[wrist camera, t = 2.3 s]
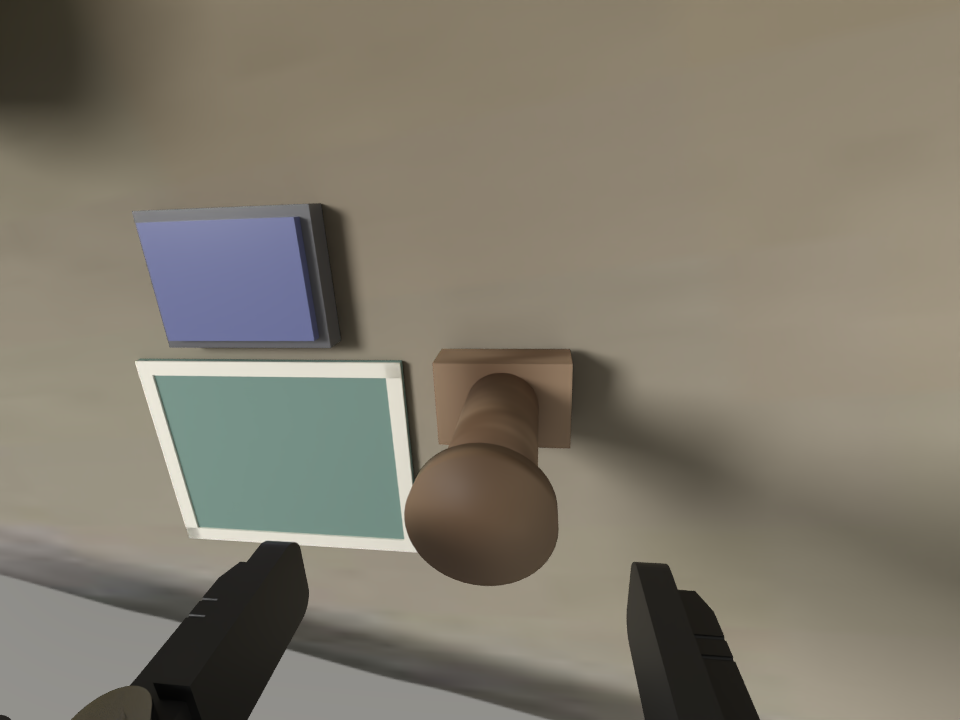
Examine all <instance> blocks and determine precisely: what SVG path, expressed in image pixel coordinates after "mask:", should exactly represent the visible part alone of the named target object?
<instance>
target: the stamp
mask: <svg viewBox="0 0 960 720" xmlns="http://www.w3.org/2000/svg"><path fill="white" fill-rule="evenodd" d="M432 364H433V377H434V389H435V402H436V415H437V428H438V440H439V444H446V445H449V447H448V449H445V450H443V451H441V452H440V453H438V454H436V455H435V456H433V457H432V458H431V459H430V460H428V462H427V463H426V464H425V465H424V466H423V467H422V468H421V470H420V471H419V473H418V475H417V477H416V479H415V481H414V483H413V486H412V488H411V490H410V492H409V495H408V497H407V500H406V504H405V510H404V521H405V527H406V531H407V534H408V537H409V539H410V541H411V543H412V545H413V546H414V548H415V549H416V551H417V552H418V553H419V554H420V556H421V557H422V558H423V559H424V560H425V561H426V562H427V563H428V564H429V565H431V566H432V567H433V568H435V569H436V570H437V571H439V572H441V573H443V574H444V575H446V576H448V577H451V578H453V579H455V580H458V581H461V582H464V583H469V584H473V585H481V586H496V585H504V584H510V583H513V582H516V581H519V580H522V579H524V578H526V577H528V576H530V575H531V574H533V573H535V572H536V571H537V570H538V569H540V568H541V567H542V566H543V565H544V564H545V563H546V561H547V560H548V559H549V557H550V556H551V554H552V552H553V550H554V548H555V546H556V542H557V538H558V509H557V500H556V495H555V492H554V490H553V487H552V485H551V483H550V482H549V480H548V478H547V477H546V475H545V474H544V473H543V471H542V470H541V469H540V468H539V467H538V447H542V448H570V437H571V405H572V372H573V363H572V358H571V352H570V349H442V350H441V351H440V353H439V354H438V356H437V357H436V359H435V360H434V362H433V363H432Z"/></svg>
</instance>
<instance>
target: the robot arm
mask: <svg viewBox="0 0 960 720" xmlns="http://www.w3.org/2000/svg"><path fill="white" fill-rule="evenodd" d="M308 599H309V588H308V583H307V578H306V574H305V569H304V564H303V559H302V554H301V549H300V546H299V544H298V543H296V542H284V541H265V542H263V543H262V544H261V545H260V546H259V547H258V548H257V550H256V551H255V552H254V554H253V555H252V556H251V557H250V559H249V560H248V561H247V562H239V563H238V564H237V565H235V566H234V567H233V568H231V569H230V570H229V571H227V572H226V573H225V574H223V575H222V576H221V577H219V578H218V579H217V581H216V582H215V583H214V584H213V585H212V587H211V588H210V589H209V590H208V592H207V593H206V594H205V595H204V596H203V600H202V601H199V602H198V604H197V605H196V606H195V607H194V609H193V610H192V611H191V612H190V615H189V617H188V618H185V620H184V621H183V622H182V623H181V624H180V626H179V627H178V628H177V629H176V631H175V632H174V633H173V634H172V635H171V637H170V638H169V639H168V640H167V642H166V643H165V644H164V645H163V646H162V648H161V649H160V650H159V651H158V652H157V654H156V655H155V656H154V657H153V659H152V660H151V661H150V662H149V663H148V665H147V666H146V667H145V668H144V670H143V671H142V672H141V673H140V674H139V675H138V677H137V678H136V679H135V680H134V681H133V683H132V684H131V685H130V686H125V687H121V688H118V689H115V690H112V691H110V692H108V693H106V694H104V695H102V696H100V697H98V698H97V699H95V700H94V701H92V702H91V703H89V704H88V705H87V706H86V707H84V708H83V709H82V710H81V711H80V712H78V714H76V715H75V716H74V718H72V719H71V720H248V718H249V716H250V714H251V712H252V710H253V709H254V707H255V705H256V703H257V701H258V699H259V698H260V696H261V694H262V692H263V690H264V688H265V687H266V685H267V683H268V681H269V679H270V677H271V676H272V674H273V672H274V670H275V668H276V666H277V665H278V663H279V661H280V659H281V657H282V655H283V654H284V652H285V650H286V648H287V646H288V644H289V643H290V641H291V639H292V637H293V635H294V633H295V632H296V630H297V628H298V626H299V624H300V622H301V621H302V619H303V617H304V614H305V612H306V609H307V605H308ZM627 633H628V640H629V646H630V651H631V655H632V660H633V665H634V670H635V675H636V679H637V684H638V689H639V694H640V698H641V703H642V708H643V713H644V718H645V720H760V719H759V716H758V714H757V712H756V709H755V707H754V705H753V702H752V700H751V698H750V695H749V693H748V691H747V688H746V686H745V684H744V681H743V679H742V677H741V674H740V672H739V670H738V667H737V665H736V663H735V662H734V661H733V656H732V653H731V651H730V649H729V646H728V644H727V642H726V641H725V640H724V635H723V632H722V630H721V628H720V625H719V623H718V621H717V618H716V616H715V614H714V612H713V611H712V609H711V608H710V607H709V606H708V605H707V604H706V603H705V602H704V600H703V599H702V598H701V597H700V596H699V595H698V594H697V593H696V592H695V591H686V590H678V589H677V586H676V584H675V581H674V578H673V575H672V573H671V570H670V568H669V566H668V565H667V564H661V563H643V562H633V563H632V566H631V573H630V584H629V594H628V604H627ZM0 720H11V719H10V718H9V717H7V716H4V715H0Z"/></svg>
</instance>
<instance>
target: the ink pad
mask: <svg viewBox="0 0 960 720" xmlns="http://www.w3.org/2000/svg"><path fill="white" fill-rule="evenodd" d="M132 214H133V217H134V221H135V224H136V228H137V232H138V235H139V239H140V242H141V246H142V250H143V253H144V257H145V260H146V264H147V267H148V271H149V275H150V278H151V282H152V285H153V289H154V293H155V296H156V300H157V303H158V307H159V311H160V314H161V318H162V321H163V325H164V329H165V332H166V336H167V339H168V343H169V347H190V348H331V347H333V346H334V345H335V344H337V343H338V342H339V341H341V337H340V330H339V323H338V317H337V310H336V303H335V296H334V289H333V282H332V276H331V269H330V262H329V255H328V248H327V241H326V235H325V228H324V221H323V214H322V207H321V203H318V204H293V205H269V206H245V207H221V208H196V209H172V210H148V211H132Z"/></svg>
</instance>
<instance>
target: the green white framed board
mask: <svg viewBox="0 0 960 720" xmlns="http://www.w3.org/2000/svg"><path fill="white" fill-rule="evenodd" d="M135 364H136V367H137V370H138V374H139V377H140V380H141V383H142V387H143V390H144V393H145V396H146V400H147V403H148V406H149V409H150V413H151V416H152V419H153V422H154V426H155V429H156V432H157V435H158V438H159V442H160V445H161V448H162V451H163V455H164V458H165V461H166V464H167V468H168V471H169V474H170V477H171V481H172V484H173V487H174V490H175V494H176V497H177V500H178V503H179V507H180V510H181V513H182V516H183V520H184V523H185V526H186V529H187V533H188V536H189V538H198V539H213V540H229V541H245V542H261V543H263V542H265V541H284V542H296V543H298V544H299V545H308V546H324V547H340V548H355V549H371V550H387V551H403V552H417V551H416V549H415V548H414V546H413V545H412V543H411V541H410V539H409V537H408V534H407V531H406V527H405V521H404V510H405V504H406V500H407V497H408V495H409V492H410V490H411V488H412V486H413V483H414V474H413V464H412V454H411V444H410V434H409V424H408V415H407V405H406V395H405V385H404V375H403V365H402V361H396V360H243V359H139V360H137V361H135Z"/></svg>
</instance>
